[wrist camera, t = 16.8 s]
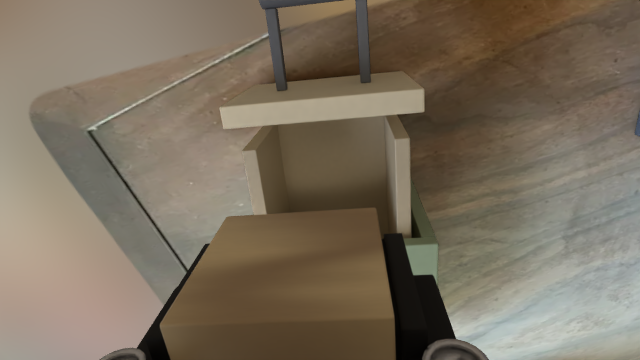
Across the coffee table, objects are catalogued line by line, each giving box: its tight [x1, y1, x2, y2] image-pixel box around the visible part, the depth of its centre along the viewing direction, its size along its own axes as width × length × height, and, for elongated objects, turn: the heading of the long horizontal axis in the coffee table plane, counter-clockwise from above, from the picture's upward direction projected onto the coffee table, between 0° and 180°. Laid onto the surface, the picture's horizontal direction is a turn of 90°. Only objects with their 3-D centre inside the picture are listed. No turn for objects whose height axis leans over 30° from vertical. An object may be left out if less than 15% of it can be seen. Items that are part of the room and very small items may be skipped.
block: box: [160, 208, 396, 360], centre depth 10 cm, size 4×4×4 cm
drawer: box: [220, 0, 425, 239], centre depth 24 cm, size 19×10×8 cm, turn 6°
